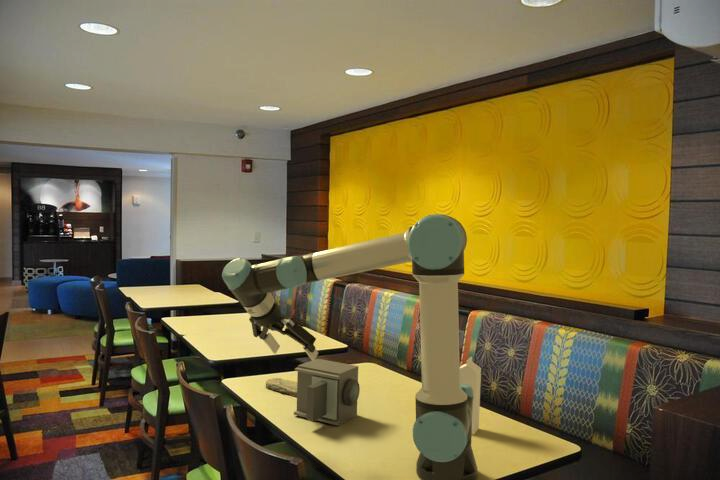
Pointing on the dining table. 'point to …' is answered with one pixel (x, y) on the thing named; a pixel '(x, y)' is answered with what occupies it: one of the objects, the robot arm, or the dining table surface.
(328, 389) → the door
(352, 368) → the camera box
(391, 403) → the dining table surface
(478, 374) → the milk
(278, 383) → the long grey stone
